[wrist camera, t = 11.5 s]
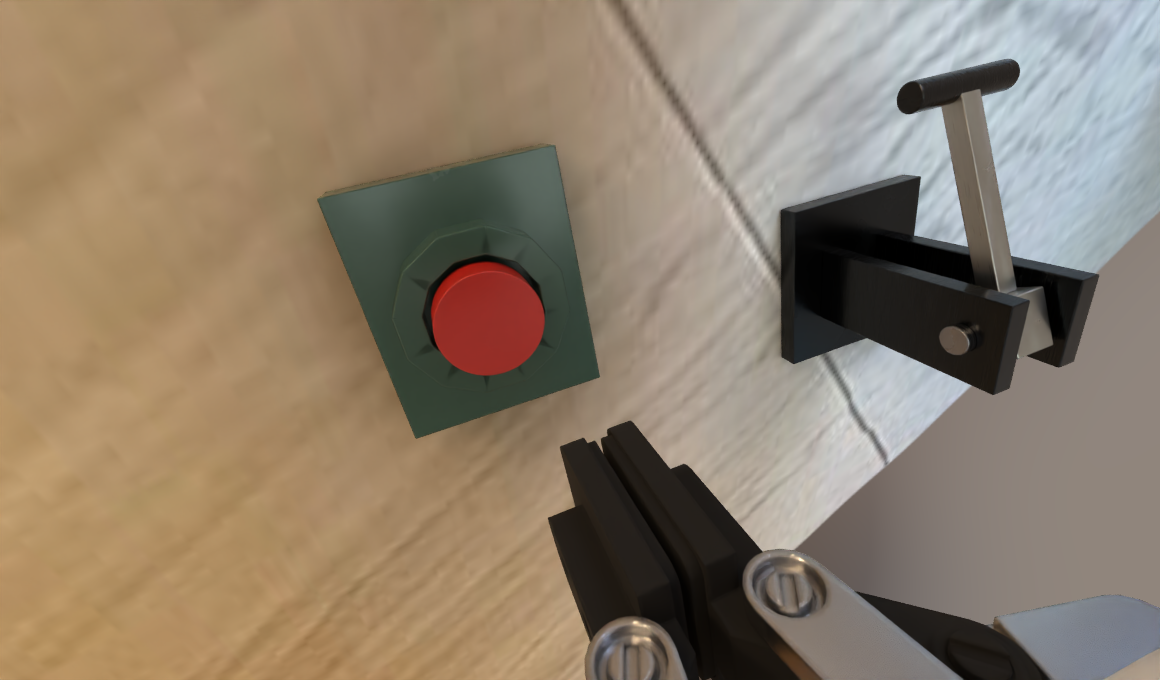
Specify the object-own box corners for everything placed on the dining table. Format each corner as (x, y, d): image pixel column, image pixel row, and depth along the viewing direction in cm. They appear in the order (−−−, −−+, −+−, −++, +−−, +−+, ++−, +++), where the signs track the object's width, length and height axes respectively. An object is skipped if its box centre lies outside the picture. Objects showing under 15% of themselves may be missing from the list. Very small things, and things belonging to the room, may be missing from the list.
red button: (416, 277, 21) (417, 289, 19) (522, 248, 21) (531, 257, 20) (449, 372, 23) (452, 389, 21) (544, 342, 24) (554, 357, 22)
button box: (324, 192, 22) (308, 204, 18) (543, 143, 24) (567, 146, 20) (414, 417, 27) (416, 460, 23) (587, 361, 29) (612, 392, 25)
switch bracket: (780, 209, 29) (987, 254, 19) (903, 174, 31) (1154, 197, 21) (781, 357, 33) (949, 459, 23) (888, 318, 35) (1089, 397, 25)
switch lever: (883, 94, 23) (931, 69, 20) (975, 72, 24) (1031, 46, 22) (938, 365, 24) (989, 371, 22) (1023, 332, 25) (1080, 334, 23)
